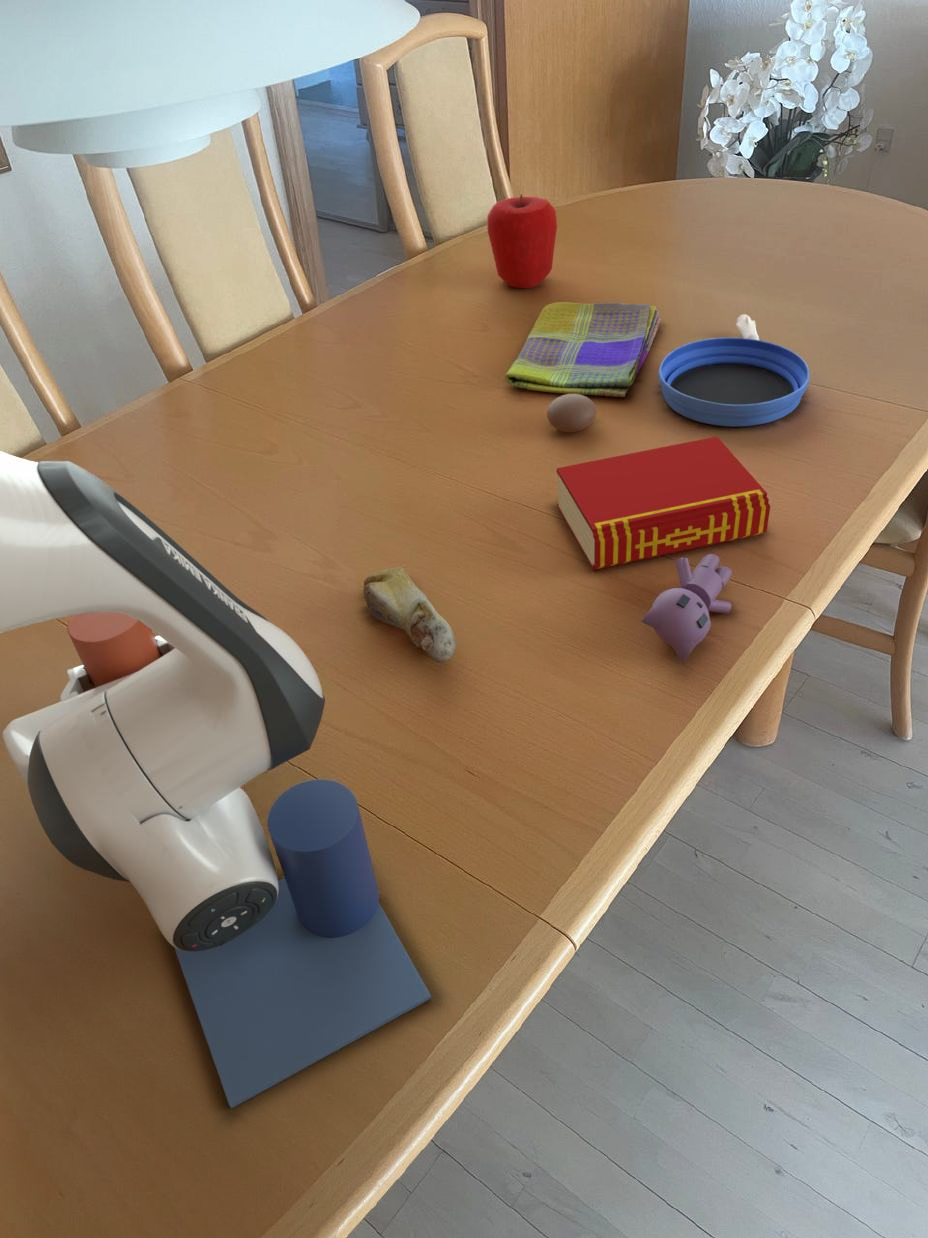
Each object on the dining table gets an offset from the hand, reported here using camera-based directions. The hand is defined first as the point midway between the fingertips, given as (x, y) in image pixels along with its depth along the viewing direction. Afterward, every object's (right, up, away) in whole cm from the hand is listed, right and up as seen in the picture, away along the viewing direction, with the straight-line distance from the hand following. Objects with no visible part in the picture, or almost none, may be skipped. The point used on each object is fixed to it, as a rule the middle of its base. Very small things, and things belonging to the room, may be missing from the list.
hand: (120, 656), depth 82 cm
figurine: (+50, +3, +9) cm, 51 cm away
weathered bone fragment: (+24, +2, +11) cm, 26 cm away
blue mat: (+17, -21, -15) cm, 31 cm away
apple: (+39, +57, +73) cm, 100 cm away
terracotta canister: (+1, -4, +3) cm, 5 cm away
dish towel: (+46, +40, +52) cm, 80 cm away
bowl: (+63, +31, +41) cm, 81 cm away
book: (+49, +13, +21) cm, 55 cm away
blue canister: (+20, -17, -12) cm, 29 cm away
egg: (+42, +26, +38) cm, 62 cm away
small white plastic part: (+68, +41, +51) cm, 94 cm away
